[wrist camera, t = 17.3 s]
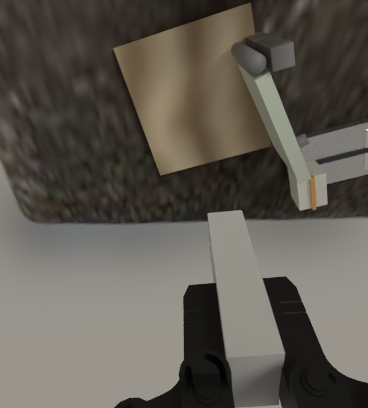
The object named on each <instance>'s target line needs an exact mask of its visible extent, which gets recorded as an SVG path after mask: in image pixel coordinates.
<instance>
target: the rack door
mask: <svg viewBox="0 0 368 408" xmlns="http://www.w3.org/2000/svg"><path fill="white" fill-rule="evenodd" d="M231 53H232V55H233V56H234V57H235V58H236V59H237V60H238V61H239V62H237V64H238V67H239V69H240V71H241V73H242V76H243V78H244V80H245V82H246V85H247V87H248V89H249V91H250V94H251V96H252V98H253V101H254V103H255V105H256V107H257V110H258V112H259V114H260V116H261V119H262V121H263V123H264V125H265V128H266V130H267V132H268V134H269V137H270V139H271V141H272V143H273V146H274V148H275V149H276V151H277V152H278V154H279V155H280V157H281V158H282V160H283V161H284V163H285V164H286V166H287V167H288V169H289V170H290V172H291V173H292V175H293V176H294V178H295V179H296V180H297V182H298V183H299V184H301V183H303V182H305V181H307V180H310V179H312V178H311V176H310V173H309V170H308V168H307V165H306V163H305V160H304V158H303V155H302V153H301V150H300V148H301V147H303V146H306V145H308V144H309V141H308V139H307V137H306V135H305V134H304V133H303V134H301V135H299V136H297V137H295V135H294V132H293V130H292V127H291V125H290V122H289V120H288V117H287V115H286V112H285V110H284V107H283V104H282V102H281V99H280V97H279V94H278V92H277V89H276V87H275V84H274V82H273V79H272V77H271V74H270V72H269V71H267V70H266V69H265V68H266V65H267V60H266V58H265V56H264V55H262V54H261V53H259V52H257V51H255V50H254V49H252V48H250V47H248V46H247V45H245V44H243V43H241V42H236V43H234V44H233V46H232V48H231Z"/></svg>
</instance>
